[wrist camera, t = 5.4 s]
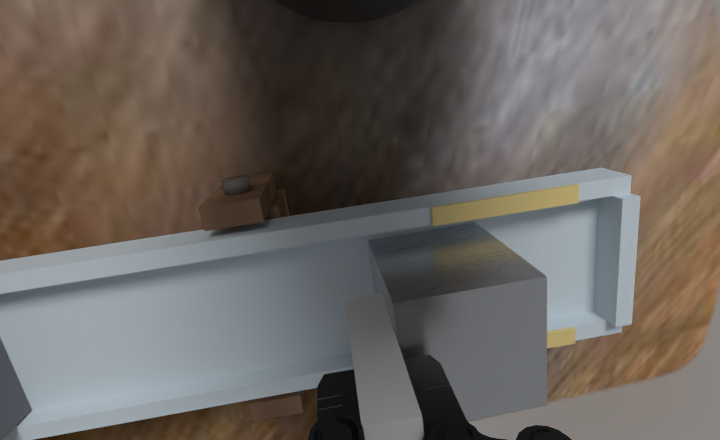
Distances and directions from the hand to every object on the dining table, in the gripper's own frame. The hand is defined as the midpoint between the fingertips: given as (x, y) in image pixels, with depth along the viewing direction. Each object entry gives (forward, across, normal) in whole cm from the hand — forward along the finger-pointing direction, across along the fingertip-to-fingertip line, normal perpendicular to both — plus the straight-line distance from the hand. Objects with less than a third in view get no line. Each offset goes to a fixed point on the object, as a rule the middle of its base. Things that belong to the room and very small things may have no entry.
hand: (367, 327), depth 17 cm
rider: (+3, +3, 0) cm, 4 cm away
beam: (+4, -5, 0) cm, 6 cm away
